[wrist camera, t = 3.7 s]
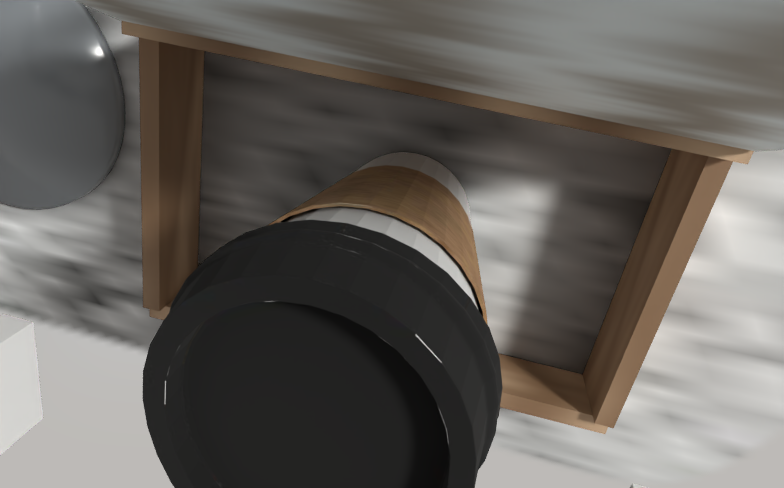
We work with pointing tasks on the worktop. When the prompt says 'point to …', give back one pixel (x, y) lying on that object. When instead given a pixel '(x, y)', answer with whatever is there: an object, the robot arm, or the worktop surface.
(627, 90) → the frame
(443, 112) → the worktop surface
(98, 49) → the disc
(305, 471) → the coffee cup
